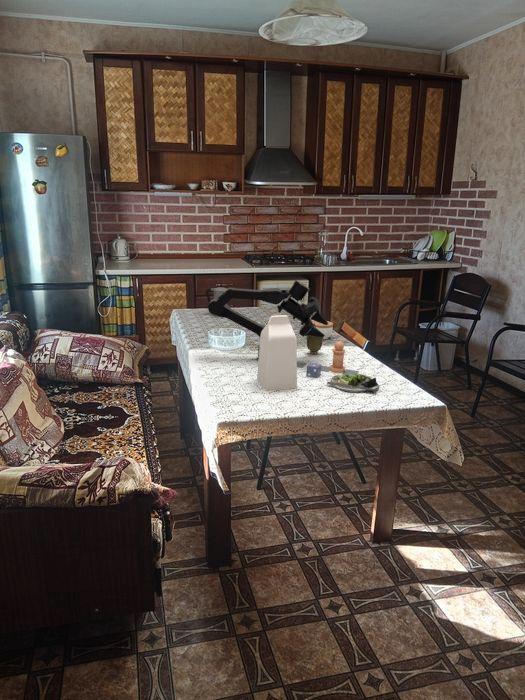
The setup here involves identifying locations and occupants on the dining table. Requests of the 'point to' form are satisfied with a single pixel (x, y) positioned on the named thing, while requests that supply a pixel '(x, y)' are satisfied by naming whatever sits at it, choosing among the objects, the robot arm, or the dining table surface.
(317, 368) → the die
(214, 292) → the coffeepot
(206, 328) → the dining table surface
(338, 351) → the pawn
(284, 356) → the milk
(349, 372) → the board
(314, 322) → the lidded jar
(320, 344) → the cup
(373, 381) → the salad plate
